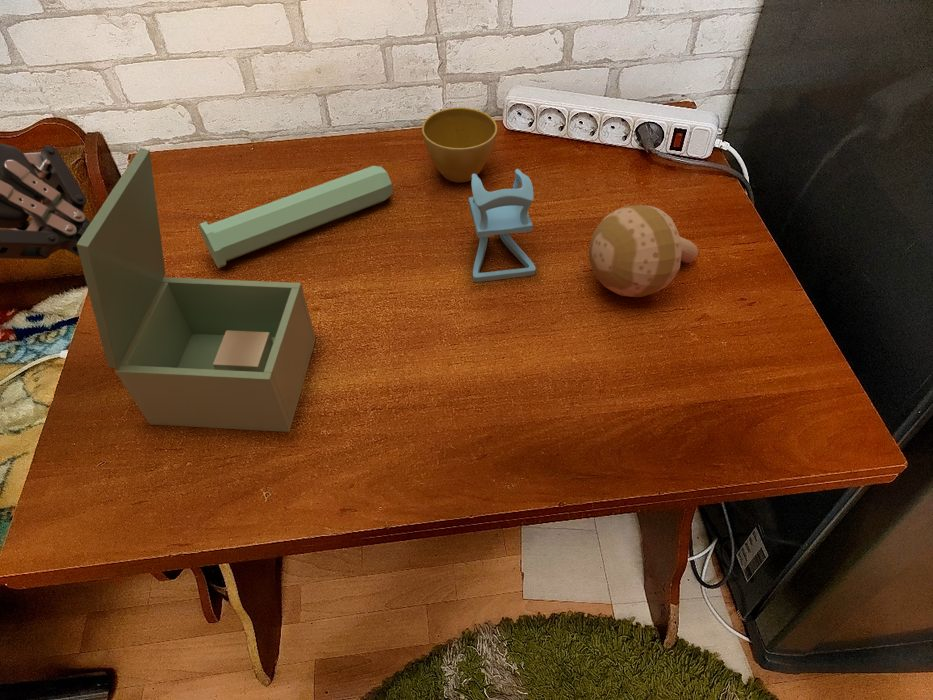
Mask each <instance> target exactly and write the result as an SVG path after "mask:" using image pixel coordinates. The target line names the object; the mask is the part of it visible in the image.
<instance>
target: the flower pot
mask: <svg viewBox="0 0 933 700" xmlns="http://www.w3.org/2000/svg"><path fill="white" fill-rule="evenodd" d="M421 132H422V137H423V141H424V144H425V147H426V150H427V153H428V156H429V157H430V159H431V161H432V163H433V164H434V166H435V168H436V169H437V170H438V172H439V173H440V174H441V175H442V176H443V177H444V178H445V179H446V180H447V181H450V182H453V183H460V184H461V183H467V182H470V181H472V174H476V175H477V176H478V175H479V174H480V173H481V171H482V170H483V168H484V167H485V165H486V163H487V162H488V160H489V158H490V156H491V154H492V151H493V148H494V145H495V143H496V139H497V134H498V125H497V122H496V121H495V119H494V118H493V117H492V116H491V115H489V114H487V113H486V112H485V111H481V110H479V109H476V108H470V107H449V108H445V109H441V110H438V111H436V112H434V113H432V114H431V115H429V116H428V117H427V118H426V119H425V120H424V121H423V124H422V126H421Z"/></svg>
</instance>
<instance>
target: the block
mask: <svg viewBox="0 0 933 700" xmlns="http://www.w3.org/2000/svg"><path fill="white" fill-rule="evenodd" d="M272 345H273V341H272V338H271V335H270V333H269V332H252V331H229V330H226V332H225V335H224V337H223V340H222V342H221V345H220V347H219V350H218V352H217V355H216V357H215V360H214V362H213V366H214V368H215V370H229V371H249V372H264V369H265V366H266V363H267V360H268V357H269V354H270V351H271V348H272Z"/></svg>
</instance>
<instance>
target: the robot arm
mask: <svg viewBox="0 0 933 700" xmlns="http://www.w3.org/2000/svg"><path fill="white" fill-rule="evenodd" d="M87 202H88V199H87V197H86V195H85V193H84V192H83V190H82V188H81V187H80V185H79V183H78V182H77V180H76V178H75V177H74V175H73V174H72V172H71V170H70V168H69V167H68V165H67V163H66V162H65V160H64V159H63V157H62V155H61V154H60V152H59V151H58V149H57V148H56V147H54V146H52V145H44V146H43V148H42V149H41V151H35V152H22V150H20V149H19V148H17V147H15V146H13V145H9V144H5V143H2V142H0V259H7V260H8V259H10V260H12V259H14V260H47V259H48V258H50V256H52V255H53V254H54V253H56V252H58V251H60V250H65V251H68V252H70V253H72V254H73V255H75V256H77V257H79V258H80V256H79V252H78V248H77V243H78V241H79V240H80V238H81V237H82V235H83V234H84V232H85V231H86V229H87V228H88V226H89V225H90V223H91V222H92V221H90V220H89V219H87V218H86V215H85V213H84V212H85V206H86V204H87ZM29 218H30V219H31V220H28V219H29Z"/></svg>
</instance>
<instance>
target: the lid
mask: <svg viewBox="0 0 933 700" xmlns="http://www.w3.org/2000/svg"><path fill="white" fill-rule="evenodd" d="M154 180H155V179H154V172H153V165H152V157H151V151H150V150H149V149H145V148H141V147H140V148H139V149H138V151H137V152H136V153H135V155H134V157H133V158H132V160H131V161H130V163H129V164H128V166H127V167H126V168H125V170H124V172H122V175H121V176H120V177H119V179H118V181H117V183H116V184H115V185H114V187H113V188H112V190H111V191H110V193H109V194H108V196H107V197H106V198H105V200H104V202H103V203H102V204H101V206H100V208H99V209H98V211H97V212H96V214H95V215H94V217H93V219H92V220H91V221H90V222H91V223H90V225H89V226H88V228H87V229H86V231H85V232H84V234H83V235H82V237H81V238H80V240H79V241H78V243H77V248H78V252H79V256H80V257H79V256H78V257H79V260H80V264H81V267H82V268H81V269H82V271H83V275H84V279H85V284H86V287H87V291H88V295H89V297H90V299H89V300H90V302H91V307H92V310H93V314H94V318H95V322H96V326H97V331H98V334H99V338H100V342H101V345H102V350H103V353H104V357H105V362H106V366H107V367H108V368H110V369H115V370H116V369H117V368H118V366H119V364H120V362H121V360H122V358H123V356H124V354H125V352H126V350H127V348H128V346H129V344H130V342H131V341H132V339H133V337H134V335H135V333H136V331H137V329H138V327H139V325H140V323H141V321H142V319H143V317H144V315H145V313H146V311H147V309H148V307H149V305H150V304H151V302H152V300H153V298H154V296H155V294H156V292H157V290H158V288H159V286H160V284H161V282H162V280H163V278H164V277H166V267H165V259H164V251H163V244H162V234H161V227H160V220H159V219H160V218H159V212H158V211H159V210H158V205H157V196H156V189H155V182H154Z"/></svg>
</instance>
